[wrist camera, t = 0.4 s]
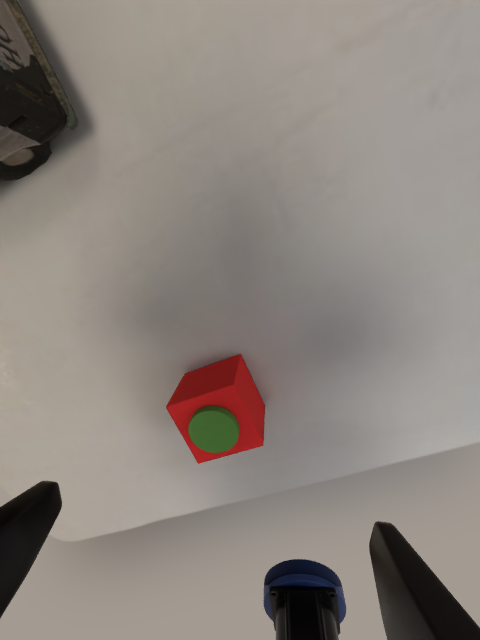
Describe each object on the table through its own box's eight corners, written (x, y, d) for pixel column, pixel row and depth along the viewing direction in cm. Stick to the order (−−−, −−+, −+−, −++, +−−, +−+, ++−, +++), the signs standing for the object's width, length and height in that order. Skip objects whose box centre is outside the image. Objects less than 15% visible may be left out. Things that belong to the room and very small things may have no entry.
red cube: (265, 405, 23) (263, 452, 19) (210, 422, 24) (195, 471, 20) (240, 353, 22) (232, 389, 17) (184, 373, 23) (162, 412, 18)
